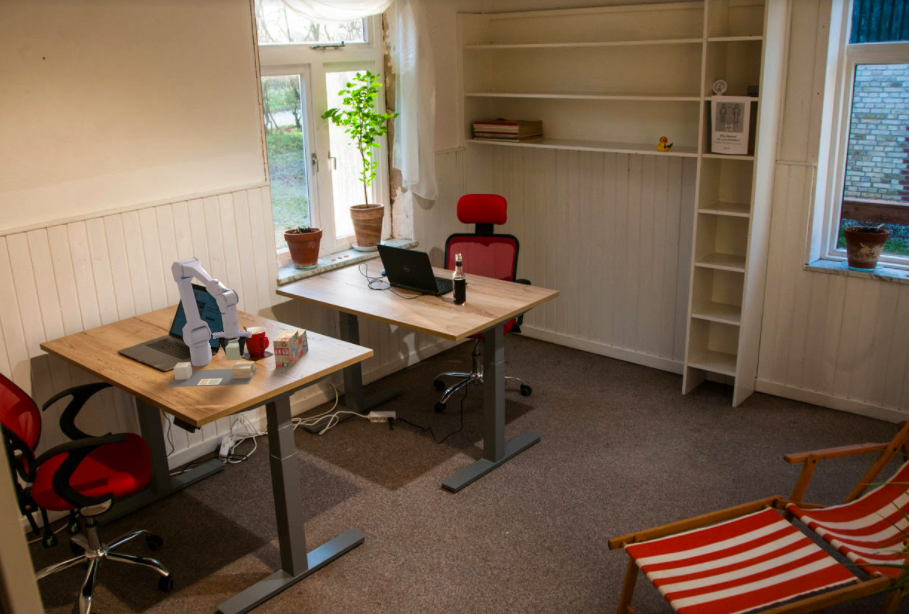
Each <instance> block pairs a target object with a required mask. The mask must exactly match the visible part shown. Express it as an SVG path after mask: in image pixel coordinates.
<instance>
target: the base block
mask: <svg viewBox="0 0 909 614" xmlns="http://www.w3.org/2000/svg"><path fill="white" fill-rule="evenodd" d="M255 368H256V363H255V361H236V362H235V364H234V365H233V366H232V368H231V369H232V375H233V379H235V378H251V377H252V376H253V374H254V372H255ZM253 377H254V376H253Z"/></svg>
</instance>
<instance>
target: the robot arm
mask: <svg viewBox="0 0 909 614" xmlns="http://www.w3.org/2000/svg"><path fill="white" fill-rule="evenodd" d="M170 268H171V269H170V270H171V273H172V277H173V281H174V283H176V285H177V289H178V293H179V297H180V299H181V303H182V304H181V305H182V307H183V312H184V315H185V319H186V323H185V325H184V326H183V327H182V330H181V331H182V339H183V341H184V343H185V346H187V347H189V353H190V359H191V366H193V367H204V366H208V365H209V364H211V361H212V359H213V353H212V349H211V345H210V343H209V340H210V339H211V334H212V335H213V339H216V338H219V340H218V343H219V344H220V345H221V347H220V348H222V350H223V351H224V355H226V350H225V348H226V346H227V345H228V338H239V339H238V342H237V343H239V347H240V355H241V356H242V357H243V356H244V355H245V347H246V346H245V345H246V342H247V339H248V338H249V339H250V338H252V336H253V332H252V331H249V330H240V325H239V323H240V322H239V317H238V309H237V305H238V304H239V301H240V300H239V298H240V297H239V295H238V293H237V291H236V290H235V289H232V288H231V289H230V288H227V286H225V285H224V284H223V283H222V282H221V281H220V280H218V279H217V278H216V279H215V278H214V279H213V278H212V277H211V275H210V274H209V273H208V272H207V271H206V270H205V269H204V268H203V264H202V261H201V260H200V259H199V258H198V257H196V256H193V257H189V258H187V259H183V260H179V261H178V260H177V261H173V263H172V264H171V267H170ZM194 278H195V279H196V280H197V281H200V282H201V283H202V284H203V285H205V290H206V291H207V292H208V293H209V294H210V295H211V296H212V297H213V298H214V299H215V301H216V304H217V306H218V308H219V311H220V313H221V319H222V326H223V327H222V328H223V331H224V332H223V331H220V332H213V333H212V331H211V328H210V327H209V325H208V322H206V321H204V320H202V319H201V315H200V312H199V309H198V303H197V301H196V298H195V296H196V295H195V293H194V289H193V284H192V280H193V279H194Z"/></svg>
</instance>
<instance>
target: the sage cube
mask: <svg viewBox="0 0 909 614" xmlns="http://www.w3.org/2000/svg"><path fill="white" fill-rule="evenodd" d="M225 350H226V354H225V357H226V361H238V360H239V361H240V360H241V359H242V358H243V356H241V355H240V347H239V343H238V342H237V343H229V344H228V345H227V346H226V348H225Z"/></svg>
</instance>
